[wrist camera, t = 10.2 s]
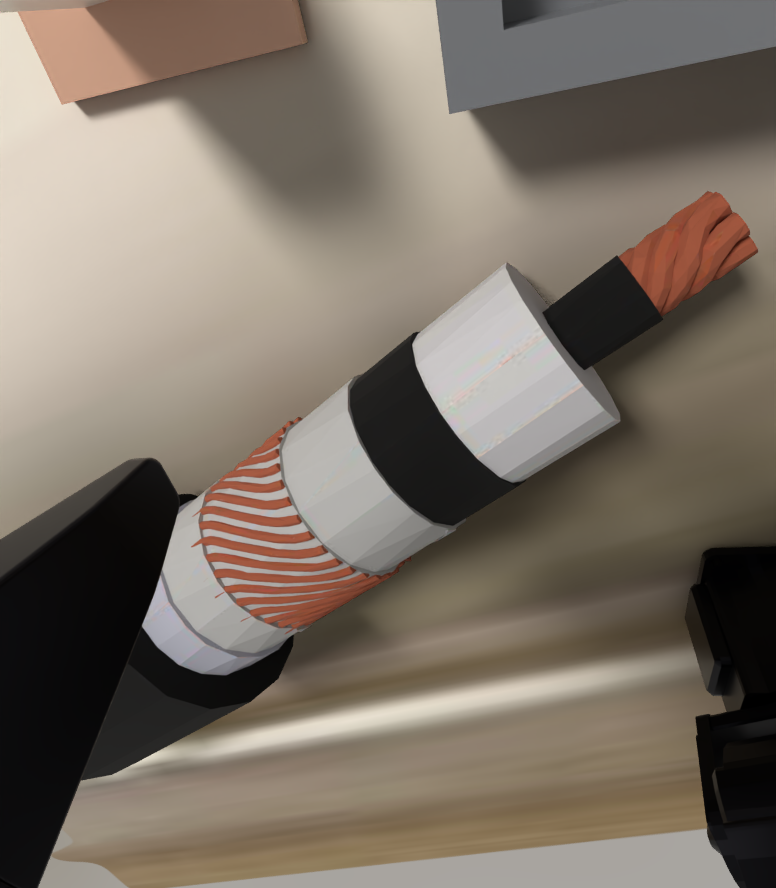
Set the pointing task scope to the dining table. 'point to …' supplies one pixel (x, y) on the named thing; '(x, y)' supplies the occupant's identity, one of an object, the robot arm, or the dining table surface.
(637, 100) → the dining table surface
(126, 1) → the coaster
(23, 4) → the white block
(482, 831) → the dining table surface
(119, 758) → the cable
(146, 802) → the dining table surface
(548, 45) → the grey hollow box
